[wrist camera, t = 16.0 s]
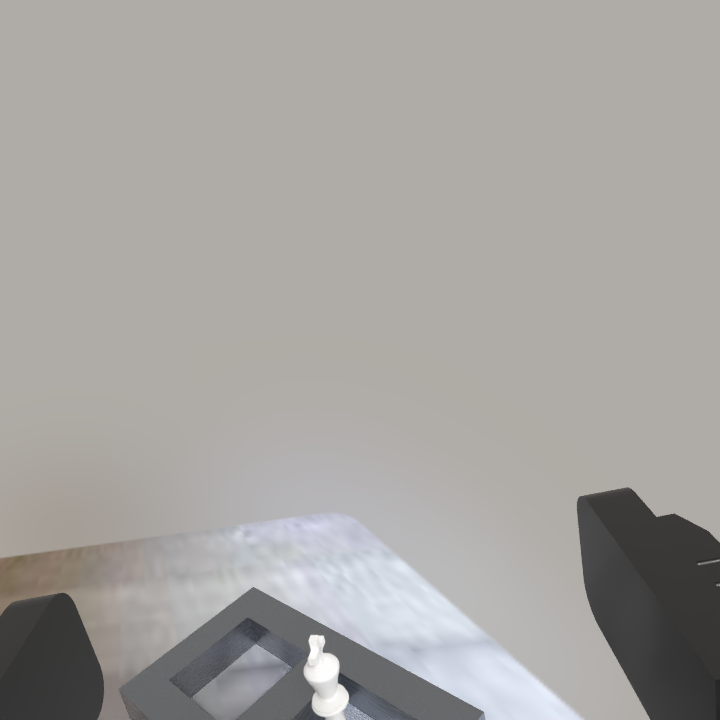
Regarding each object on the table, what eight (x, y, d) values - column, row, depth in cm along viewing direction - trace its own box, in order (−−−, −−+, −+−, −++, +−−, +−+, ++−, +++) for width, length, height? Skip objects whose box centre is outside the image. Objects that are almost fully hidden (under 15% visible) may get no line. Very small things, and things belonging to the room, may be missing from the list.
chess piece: (298, 811, 36) (255, 673, 33) (321, 733, 41) (285, 606, 37) (383, 817, 35) (346, 675, 32) (397, 736, 39) (366, 605, 36)
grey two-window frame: (351, 937, 30) (340, 902, 29) (129, 716, 45) (118, 689, 44) (489, 744, 38) (484, 712, 37) (260, 611, 53) (253, 586, 52)
